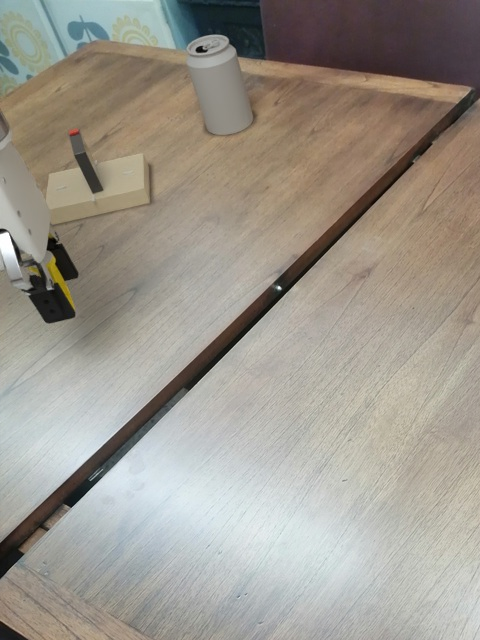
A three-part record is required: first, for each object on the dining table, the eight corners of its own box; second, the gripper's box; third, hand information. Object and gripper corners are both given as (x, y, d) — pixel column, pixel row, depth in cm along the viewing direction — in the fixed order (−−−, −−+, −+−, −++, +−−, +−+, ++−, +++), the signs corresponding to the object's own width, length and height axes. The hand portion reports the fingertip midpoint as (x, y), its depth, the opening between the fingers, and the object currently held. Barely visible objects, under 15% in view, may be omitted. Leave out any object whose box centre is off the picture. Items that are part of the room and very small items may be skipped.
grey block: (103, 190, 96) (84, 149, 91) (92, 193, 96) (72, 153, 91) (97, 167, 100) (78, 126, 95) (86, 170, 100) (67, 130, 95)
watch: (50, 294, 77) (21, 247, 72) (75, 285, 77) (47, 238, 72) (59, 325, 73) (29, 277, 68) (84, 316, 74) (56, 268, 69)
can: (204, 124, 110) (177, 40, 100) (248, 111, 111) (226, 26, 101) (213, 145, 106) (186, 59, 96) (260, 131, 107) (238, 44, 97)
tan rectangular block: (54, 232, 97) (42, 211, 94) (59, 191, 104) (48, 170, 101) (152, 210, 97) (143, 189, 95) (151, 170, 104) (142, 149, 101)
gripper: (-66, 94, 65) (36, 260, 79) (-102, 190, 55) (21, 360, 69) (14, 76, 65) (100, 245, 80) (-9, 169, 55) (95, 343, 70)
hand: (62, 297), depth 74 cm, fingers closed on watch, 6 cm apart
